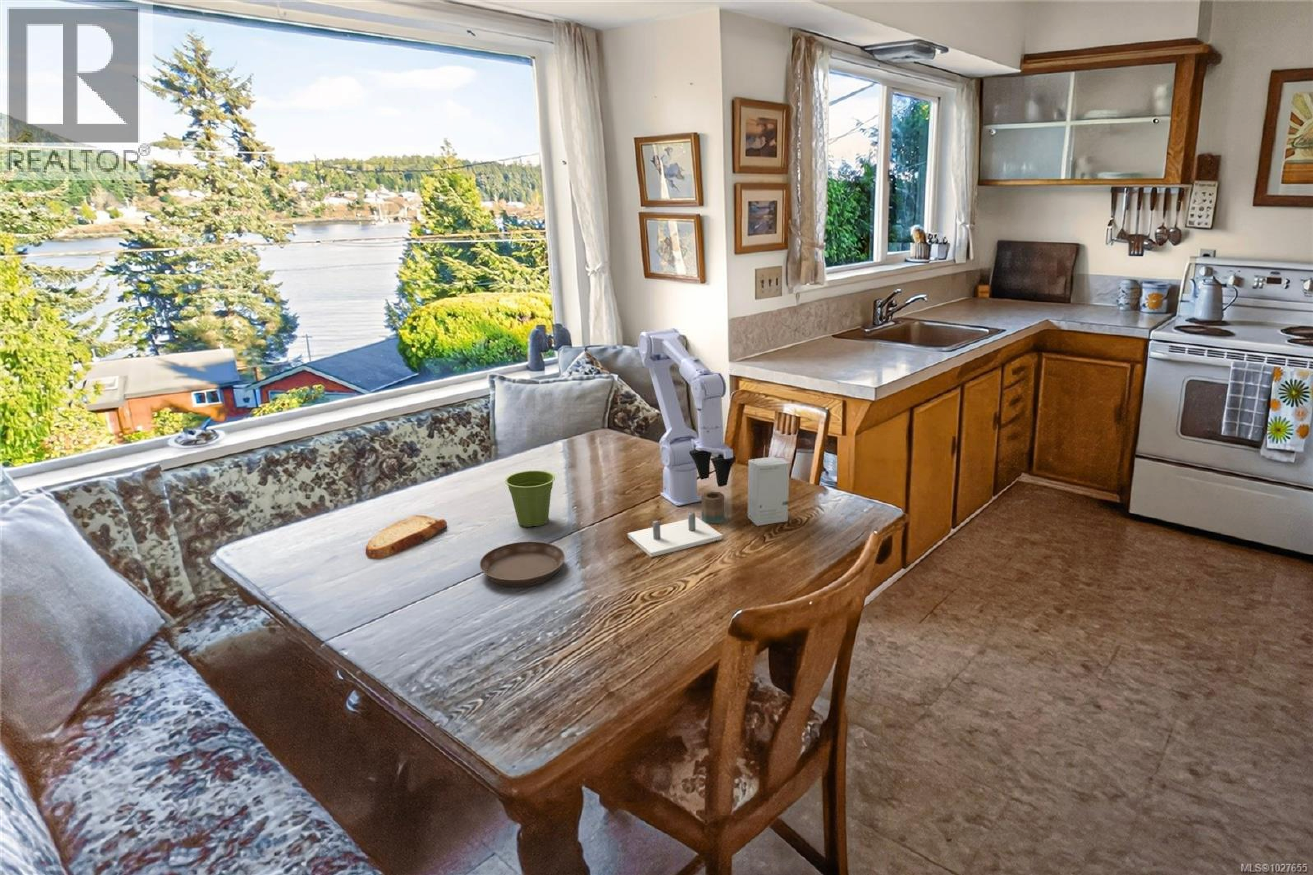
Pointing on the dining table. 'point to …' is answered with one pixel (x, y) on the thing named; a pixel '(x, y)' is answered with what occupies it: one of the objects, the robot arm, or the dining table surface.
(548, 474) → the plant pot
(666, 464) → the robot arm
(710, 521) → the sleeve
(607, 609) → the dining table surface
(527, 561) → the plant saucer
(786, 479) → the skincare box
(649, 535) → the pin board
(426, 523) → the bread slice
